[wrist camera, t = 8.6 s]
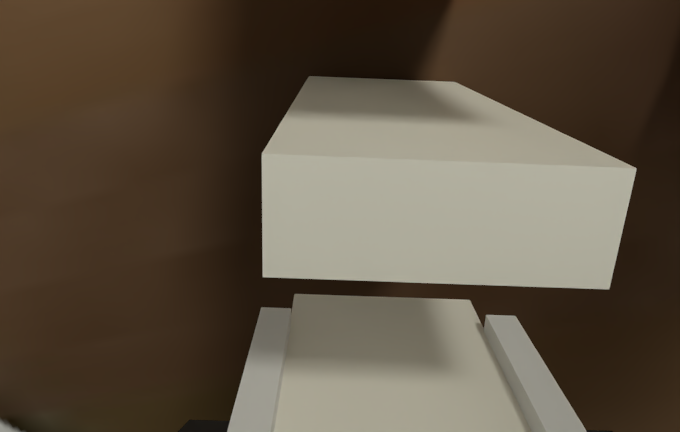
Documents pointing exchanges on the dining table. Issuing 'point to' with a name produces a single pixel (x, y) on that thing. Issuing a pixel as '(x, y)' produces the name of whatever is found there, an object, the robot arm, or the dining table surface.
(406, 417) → the domino
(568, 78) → the dining table surface
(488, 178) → the domino
